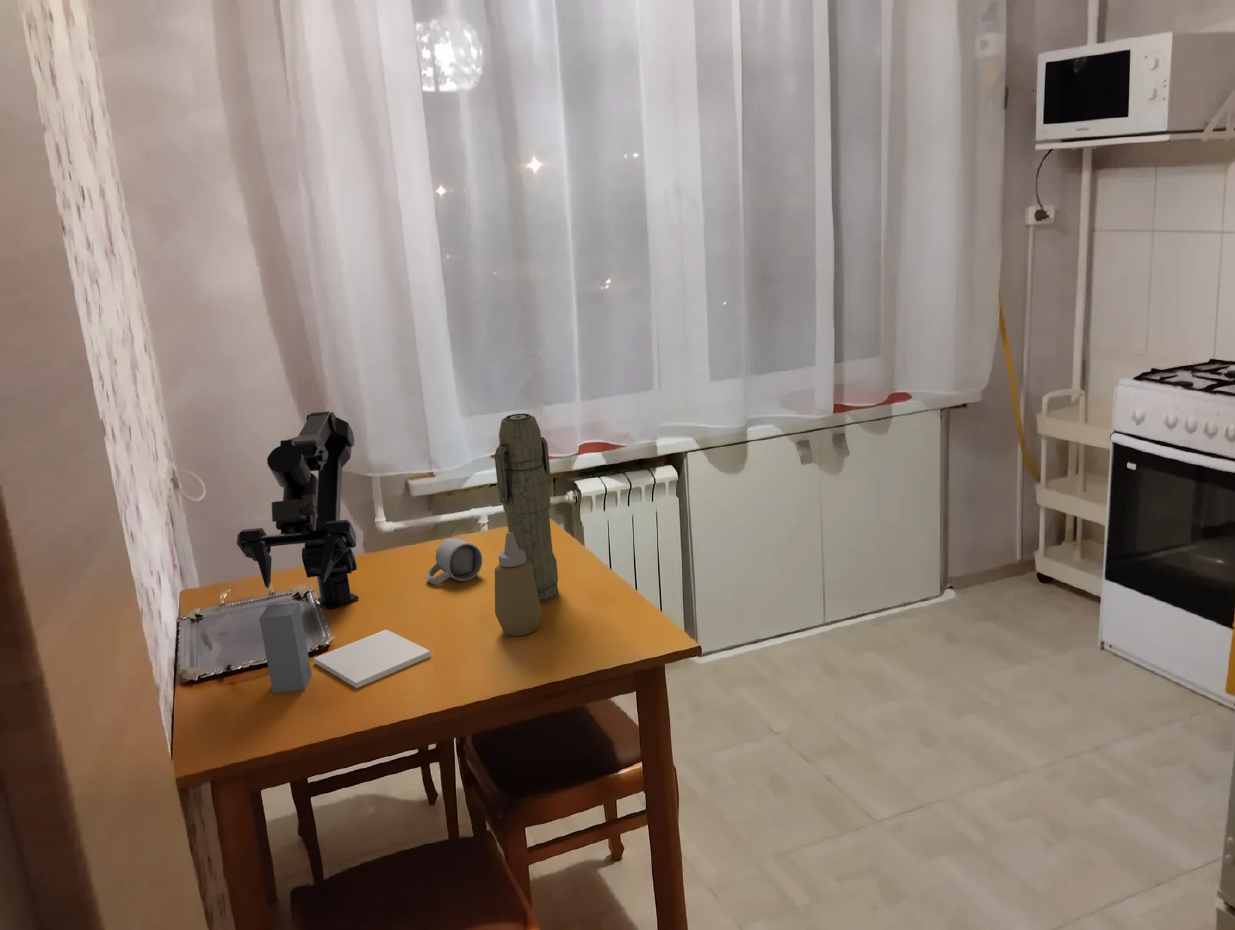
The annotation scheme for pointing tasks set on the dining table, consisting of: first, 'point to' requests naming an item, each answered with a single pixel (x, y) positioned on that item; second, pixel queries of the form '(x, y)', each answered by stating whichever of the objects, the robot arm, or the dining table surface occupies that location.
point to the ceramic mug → (456, 561)
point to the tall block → (285, 647)
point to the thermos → (527, 496)
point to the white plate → (372, 658)
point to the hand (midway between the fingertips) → (295, 584)
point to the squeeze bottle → (515, 591)
